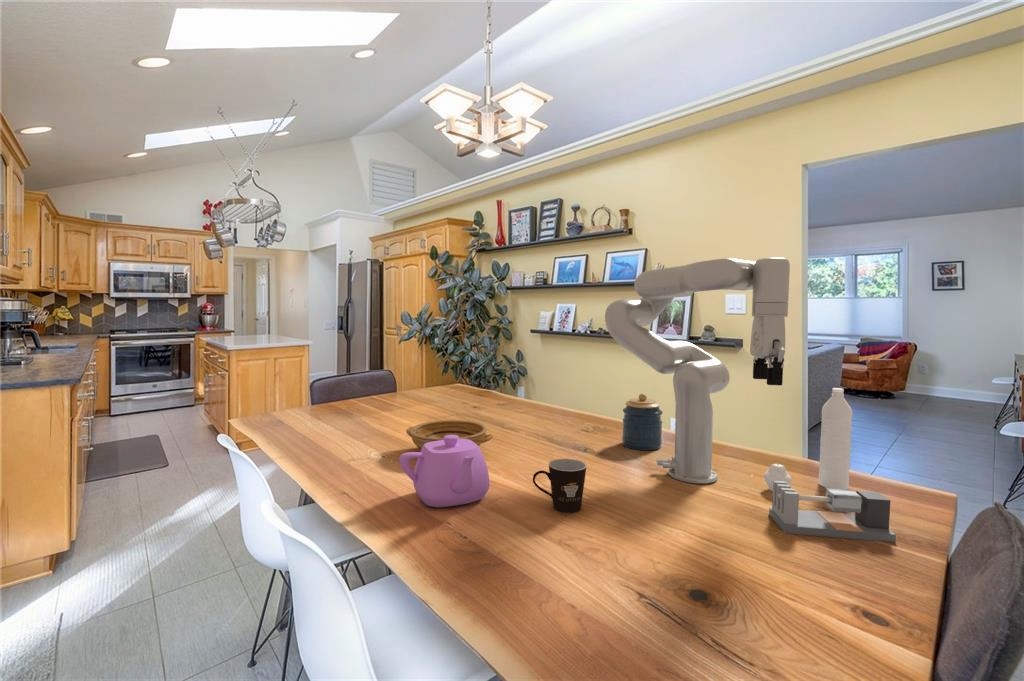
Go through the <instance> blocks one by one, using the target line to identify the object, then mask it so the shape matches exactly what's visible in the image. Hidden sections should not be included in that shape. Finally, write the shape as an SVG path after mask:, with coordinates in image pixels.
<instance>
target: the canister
mask: <svg viewBox="0 0 1024 681" xmlns="http://www.w3.org/2000/svg"><path fill="white" fill-rule="evenodd" d="M624 405H626V406H625V407H624V408H623V409H622V413H623V418H622V437H621V440H622V445H623V446H624V447H626V448H629V449H632V450H637V451H655V450H656V451H657V450H659V449H661V448H662V444H663V439H662V436H663V434H662V432H663V431H662V430H663V427H662V426H663V420H662V415H663V413H664V412H663V410H661V409H660V407H661V404H660V403H659V402H657V401H656V400H655V399H651V398H648V397H647V395H646V394H645V393H640V394H639V395H638V397H636V398H631V399H629V400H628V401H626V402H625V404H624Z"/></svg>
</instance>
